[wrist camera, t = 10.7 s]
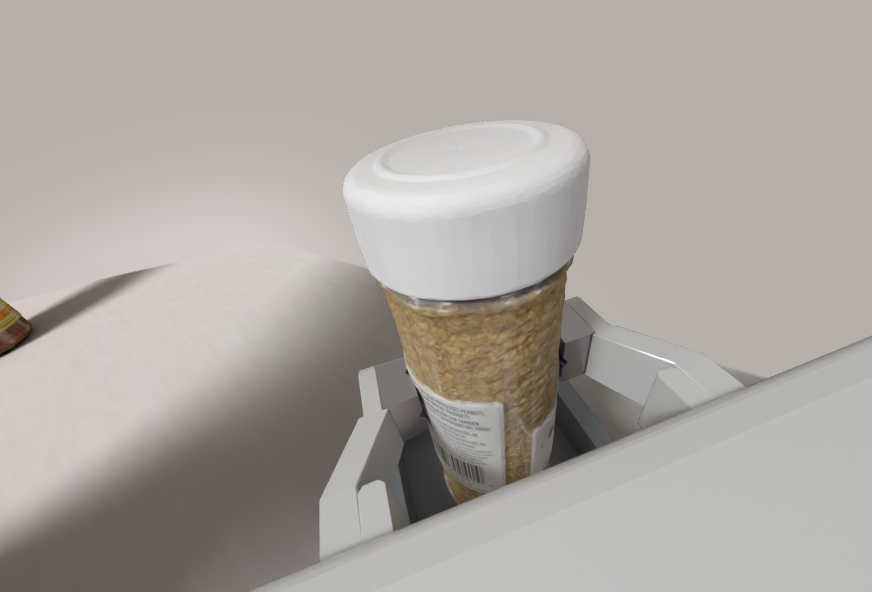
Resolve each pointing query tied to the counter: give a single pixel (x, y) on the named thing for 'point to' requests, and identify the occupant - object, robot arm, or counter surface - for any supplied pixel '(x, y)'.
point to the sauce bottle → (11, 327)
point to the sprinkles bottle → (477, 282)
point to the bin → (423, 471)
